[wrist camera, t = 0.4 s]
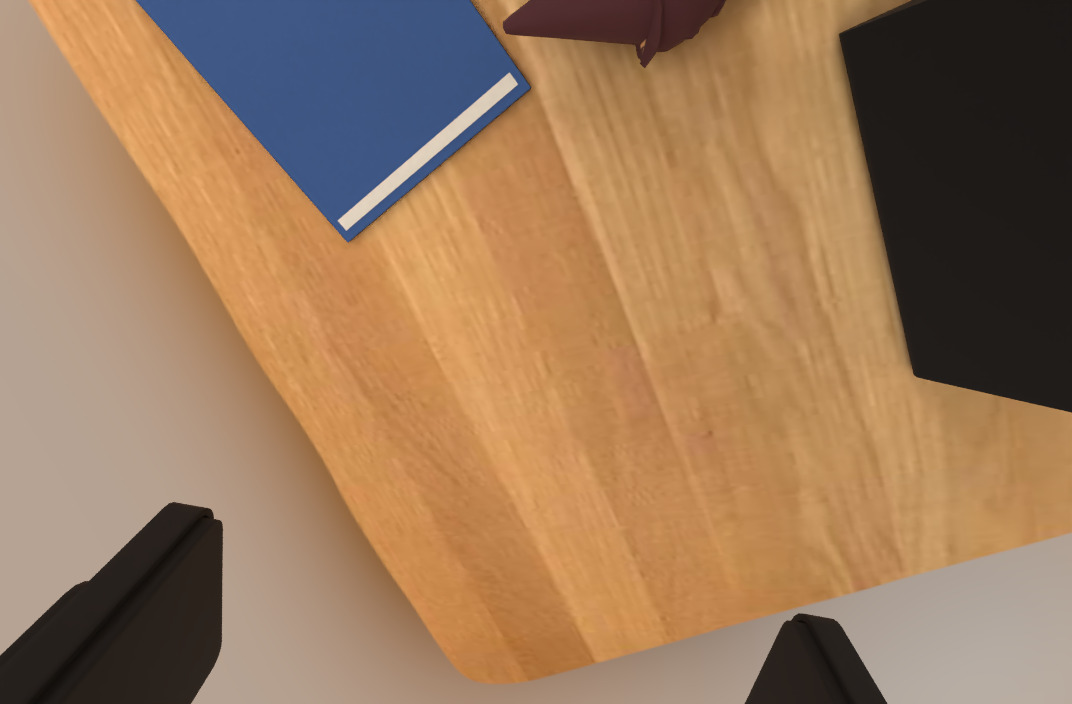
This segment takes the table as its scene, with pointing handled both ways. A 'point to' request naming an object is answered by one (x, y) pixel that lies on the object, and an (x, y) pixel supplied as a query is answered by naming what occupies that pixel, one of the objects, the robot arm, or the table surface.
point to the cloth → (349, 87)
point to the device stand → (974, 186)
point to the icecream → (615, 21)
